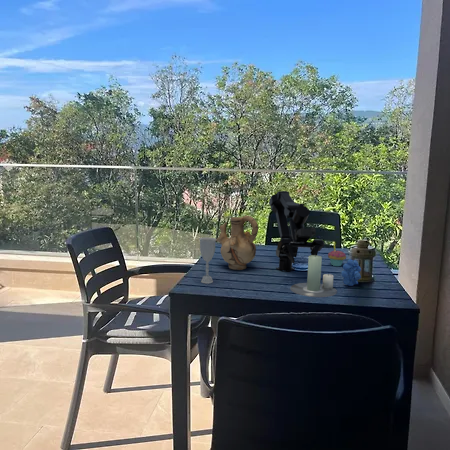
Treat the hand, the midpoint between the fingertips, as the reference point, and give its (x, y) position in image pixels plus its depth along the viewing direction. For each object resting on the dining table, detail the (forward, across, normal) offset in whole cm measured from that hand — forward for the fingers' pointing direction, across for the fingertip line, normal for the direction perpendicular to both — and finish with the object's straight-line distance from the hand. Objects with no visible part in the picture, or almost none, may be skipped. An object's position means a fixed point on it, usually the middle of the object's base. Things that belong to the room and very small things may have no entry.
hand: (304, 263), depth 184 cm
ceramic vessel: (-14, -19, +32) cm, 40 cm away
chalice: (+1, -37, +17) cm, 41 cm away
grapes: (+10, +19, +2) cm, 22 cm away
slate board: (+13, +1, 0) cm, 13 cm away
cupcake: (-14, +30, +27) cm, 43 cm away
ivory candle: (+11, +8, 0) cm, 13 cm away
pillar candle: (+12, +1, -1) cm, 12 cm away
